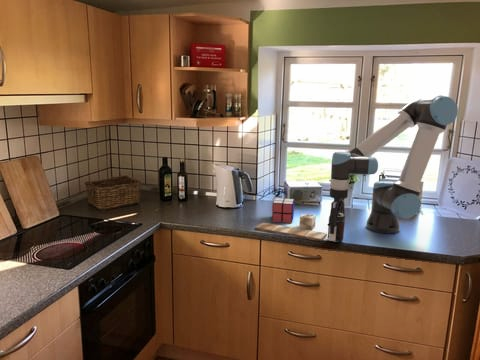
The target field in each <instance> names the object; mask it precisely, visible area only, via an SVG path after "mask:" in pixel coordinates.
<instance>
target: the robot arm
mask: <svg viewBox="0 0 480 360" xmlns="http://www.w3.org/2000/svg"><path fill="white" fill-rule="evenodd" d="M458 110H459V108H458V105H457V102H456V101H455V100H454V99H453V98H451V97H449V96H446V95H422V96H419V97H417V98H415V99H413V100H412V101H410V102H409V103H408V104H406V105H405V106H403V107H402V108H401V109H399V110H398V112H397V115H395V116H394V117H393V118H392V119H390V120H389V121H388V122H386V123H385V124H384V125H382V126H381V127H380V128H378V129H377V130H376V131H374V132H373V133H372V134H370V135H369V136H368V137H367V138H366V139H364V140H363V141H362V142H360V143H359V144H358V145H356V146H355V147H354V148H352V149H351V150H350V151H349V150H348V151H334V153H333V154H332V156H331V163H330V164H331V170H330V171H331V173H330V179H329V182H330V183H329V184H330V185H329V187H330V188H329V197H330V198H333V200H332V201H331V203H330V213H329V216H330V218H329V217H328V223H327V226H330V227H329V239H328V241H330V242H332V241H335V238H336V222H337V217H338V213H342V214H344V217H345V218H346V215H345V213H346V212H345V199H347V198H348V196H349V190H348V189H349V185H350V184H349V183H350V182H349V181H350V176H353V175H356V176H357V175H359V176H360V175H363V176H364V175H367V176H370V175H375V174H377V172H378V171H379V169H378V168H379V162H378V161H379V160H378V159H377V158H376V157H375V156H373V155H374V154H376V153H377V152H378V151H379V150H380V149H383V148H384V147H385V146H386V145H388V144H389V143H390V142H391V141H392V140H394V139H395V138H397V137H398V136H399V135H401V134H402V133H403V132H404V131H406V130H407V129H409V128H414V127H415V126H417V127H418V129H417V132H416V135H415V137H414V139H413V141H412V145H411V147H410V150H409V153H408V156H407V157H406V160H405V163H404V165H403V167H402V170H401V173H400V176H399V178H398V179H397V180H395V181H387V180H383V181H382V180H381V181H375V182H374V183H373V187H372V198H371V199H372V200H371V212H370V214H369V216H368V218H367V220H366V224H365V227H366V228H367V229H368V230H369V231H372V232H375V233H382V234H395V233H398V232H400V228H401V227H400V221H399V218H401V219H410V218H411V217H414V216H415V215H417V214H418V213H419V212H420V210H421V207H422V203H421V202H422V201H421V199H420V194H421V192H422V191H421V189H420V187H419V186H420V185H421V182H422V179H423V176H424V174H425V173H426V169H427V167H428V164H429V161H430V159H431V156H432V154H433V152H434V148H435V146H436V144H437V141H438V138H439V136H440V134H442V133H444V132H445V131H446V129H447V127H448V125H450V124H451V123H454V122H455V120H457V116H458V114H459V111H458Z"/></svg>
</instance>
